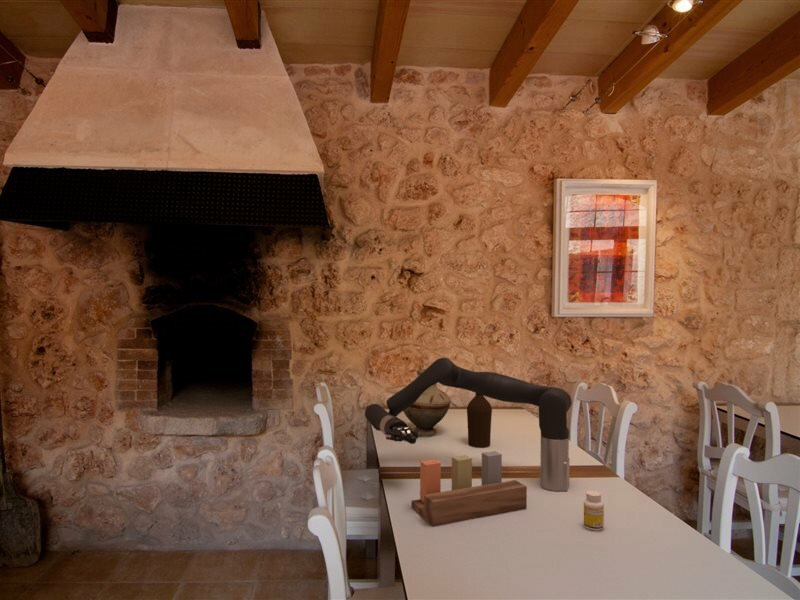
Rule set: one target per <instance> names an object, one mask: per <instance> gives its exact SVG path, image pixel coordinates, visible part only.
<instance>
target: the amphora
mask: <svg viewBox="0 0 800 600" xmlns="http://www.w3.org/2000/svg"><path fill="white" fill-rule="evenodd" d="M426 369H427V368H422V369H421V368H420V369H418V370H417V371H416V378H417V377H418V376H419V375H420V374H422V373H423V372H424V371H425V370H426ZM450 405H451V397H450V396H449V394H448V393H446V392H444V391H443V390H441V389H440V388H439V387H438V385H437V383H436V384H434V385H432V386H431V387H429V388H428V389H427V390H425V391H424V392H423V393H422V394H421V396H420V397H419V398H418V399H417V401H416V402H415V403H414V404H412V405H411V406H410V407H408V408H407V409H405V410H404V411H402V412H403V414H404V415H405V416H406V418H407V420H409V421H410V423H412V425H414V426H415V427H414V428H413V429H412V430H414V429H417V428H419V429H420V434H419V437H423V436H428V437H434V436H436V434H437V430H436V428H435V426H436V425H438V423H440V422H441V421H442V420H443V419H444V418H445V416H446V415H447V413H448V411H449V408H450ZM433 435H434V436H433Z"/></svg>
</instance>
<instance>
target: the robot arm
mask: <svg viewBox="0 0 800 600" xmlns="http://www.w3.org/2000/svg"><path fill="white" fill-rule="evenodd" d="M425 369H426V370H425V371H424V372H423V373H422V374H420V375H419V376H418V375H417V376H418V377H417V376H416V378H415V379H414V380H412V381H411V382H410V383H409V384H407V385H406V386H405V387H403V388H402V389H400V390H398V391H397V392H396V393H394V394H393V395H392V396H390V397H388V399H386V400H385V401H386V402H385V403H386V406H387V408H388V411H387V410H386V409H385V408H384V407H382V406H381V405H380V404H379V403H371V404H370V405H368V406H367V407H366V408H365V410H364V416H365V418H366V420H367V421H368V422H369V423H370V424H371V426H372V427H373V428H374V429H375V430H376V431H377V432H381V433H382V434H383V435H385V439H386V441H387V440H388V441H389V440H390V441H393V442H398V443H400V442H404V443H405V442H407V443H408V444H410V445H415V444H416V443H417V440H418V438H419V437H420V436H419V434H420V429H419V428H417V429H414V428H413V429H414V430H413V429H412V428H411V427H409V426H408V424H407V423H406V422H405V421H404V420H402V419H400V418H399V417H398V415H400V414H401V413H402V412H403V411H404V410H405V409H407V408H408V407H410V406H411V405H412V404H414V403H415V402H416V401H417V399H418V398H419V397H420V396H421V394H422V393H423V392H424V391H425V390H427V389H428V388H429V387H431V386H432V385H434V384H436V385H437V384H438V383H439V384H441V386H445V387H448V388H449V387H451V388H457V389H461V390H466V391H470V392H472V393H475V394H476V393H477V394H480V395H483V396H484V397H485V398H486V397H487V398H490V399H493V400H497V401H501V402H503V403H504V402H506V403H514V404H517V403H518V404H528V405H533V406H536V407H538V426H539V430H540V464H539V466H540V472H539V473H540V478H539V479H540V480H539V481H540V484H539V485H540V487H541V488H543V489H545V490H548V491H551V492H552V491H553V492H561V491H563V492H568V489H569V487H570V457H569V454H570V453H569V450H570V447H569V446H570V445H569V444H570V441H569V439H570V433H569V432H570V431H569V430H570V429H569V428H568V425H567V417H568V416H567V413H568V412H569V410H570V408H571V406H572V404H573V403H572V402H573V401H572V398H571V396H570V394H569V393H568V392H567V391H566V390H564V389H562V388H560V387H559V388H558V387H554V386H553V387H552V386H547V385H546V386H545V385H539V384H535V383H531V382H528V381H525V380H522V379H519V378H516V377H511V376H509V375H506V374H502V373H498V372H493V371H473V370H469V369H466V368H464V367H461V366H459V365H457V364H456V363H454V362H453V361H452V360H451V359H449V358H448V357H439V358H437V359H436V360H435V361H434V362H432V363H431V364H430V365H429V366H428V367H427V368H425Z"/></svg>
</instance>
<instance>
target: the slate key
mask: <svg viewBox="0 0 800 600" xmlns="http://www.w3.org/2000/svg"><path fill="white" fill-rule="evenodd" d="M502 455H503V454H501V453H499V452H498V451H496V450H494V451H485V452H481V485H488V484H494V483H500V482H503V481H502V480H503V479H502V476H503V474H502V473H503V472H502V470H503V467H502V463H503V462H502V458H503V457H502Z"/></svg>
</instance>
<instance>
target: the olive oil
mask: <svg viewBox="0 0 800 600" xmlns="http://www.w3.org/2000/svg"><path fill="white" fill-rule="evenodd" d="M492 413H493V409H492V405H491V403H490V402H489V401H488V399H487V398H486V396H483V395H480V394H477V393H475V395H474V397H473V398H472V399H471V400H470V401H469V402H468V403H467V407H466V418H467V419H466V420H467V445H468V446H469V447H472V448H476V449H477V448H479V449H480V448H482V449H483V448H487V447H490V446H491V433H492V432H491V431H492V415H493V414H492Z"/></svg>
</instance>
